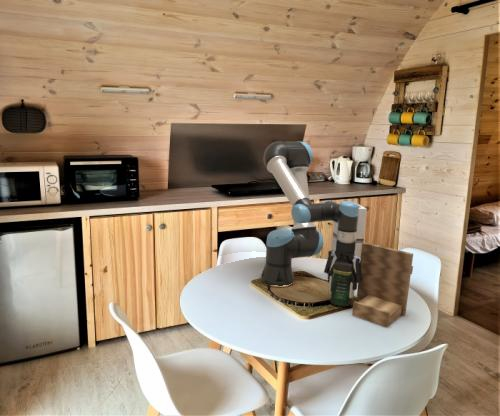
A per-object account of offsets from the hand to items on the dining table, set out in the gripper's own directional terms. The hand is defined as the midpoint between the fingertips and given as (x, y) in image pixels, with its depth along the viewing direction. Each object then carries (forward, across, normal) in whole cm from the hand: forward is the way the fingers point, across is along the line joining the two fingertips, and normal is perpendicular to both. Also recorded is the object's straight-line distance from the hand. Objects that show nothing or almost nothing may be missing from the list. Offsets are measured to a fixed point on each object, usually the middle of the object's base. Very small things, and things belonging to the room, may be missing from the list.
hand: (341, 293), depth 180 cm
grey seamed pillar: (+4, -12, +26) cm, 29 cm away
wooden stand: (+4, +14, +1) cm, 15 cm away
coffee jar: (+4, 0, 0) cm, 4 cm away
